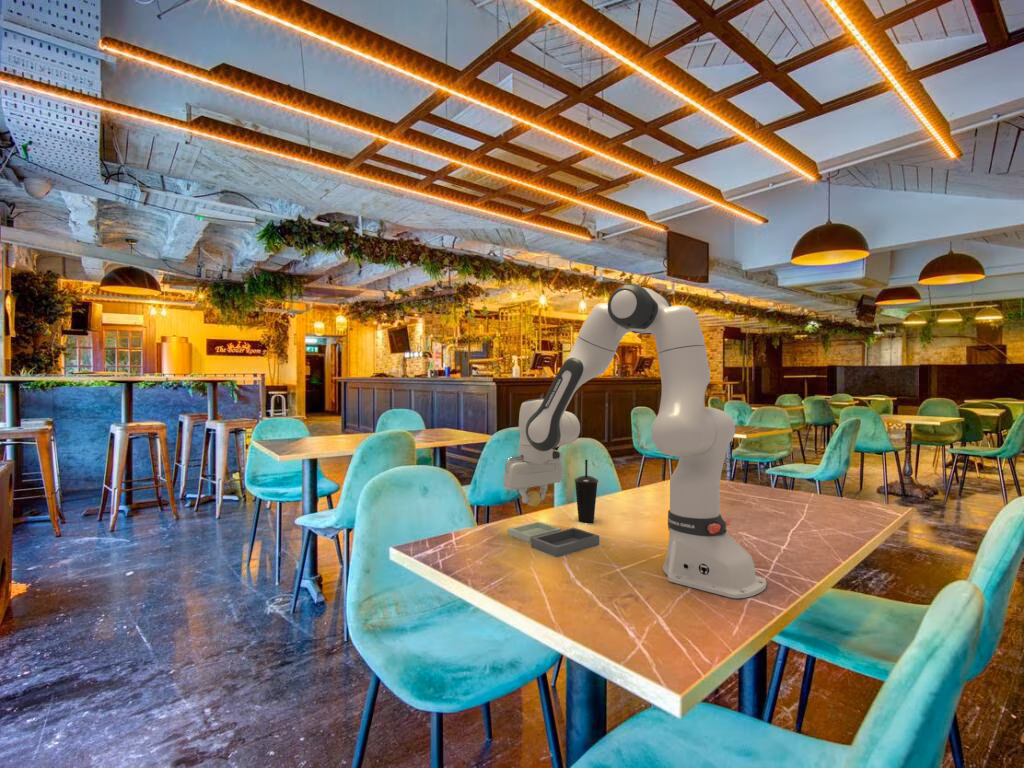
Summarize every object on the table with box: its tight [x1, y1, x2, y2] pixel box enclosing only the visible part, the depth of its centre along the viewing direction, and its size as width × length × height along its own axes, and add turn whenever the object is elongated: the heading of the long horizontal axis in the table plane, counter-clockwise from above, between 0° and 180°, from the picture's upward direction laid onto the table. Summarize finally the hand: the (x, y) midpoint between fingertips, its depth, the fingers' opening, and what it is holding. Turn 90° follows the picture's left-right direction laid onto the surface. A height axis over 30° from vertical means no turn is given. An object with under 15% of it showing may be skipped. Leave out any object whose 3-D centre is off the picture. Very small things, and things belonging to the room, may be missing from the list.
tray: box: [506, 520, 562, 544], centre depth 150 cm, size 10×12×2 cm
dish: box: [530, 526, 600, 558], centre depth 139 cm, size 10×16×3 cm, turn 129°
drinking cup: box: [573, 459, 599, 524], centre depth 165 cm, size 8×8×20 cm
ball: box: [526, 490, 542, 507], centre depth 150 cm, size 4×4×4 cm
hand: (533, 501), depth 150 cm, fingers closed on ball, 4 cm apart
